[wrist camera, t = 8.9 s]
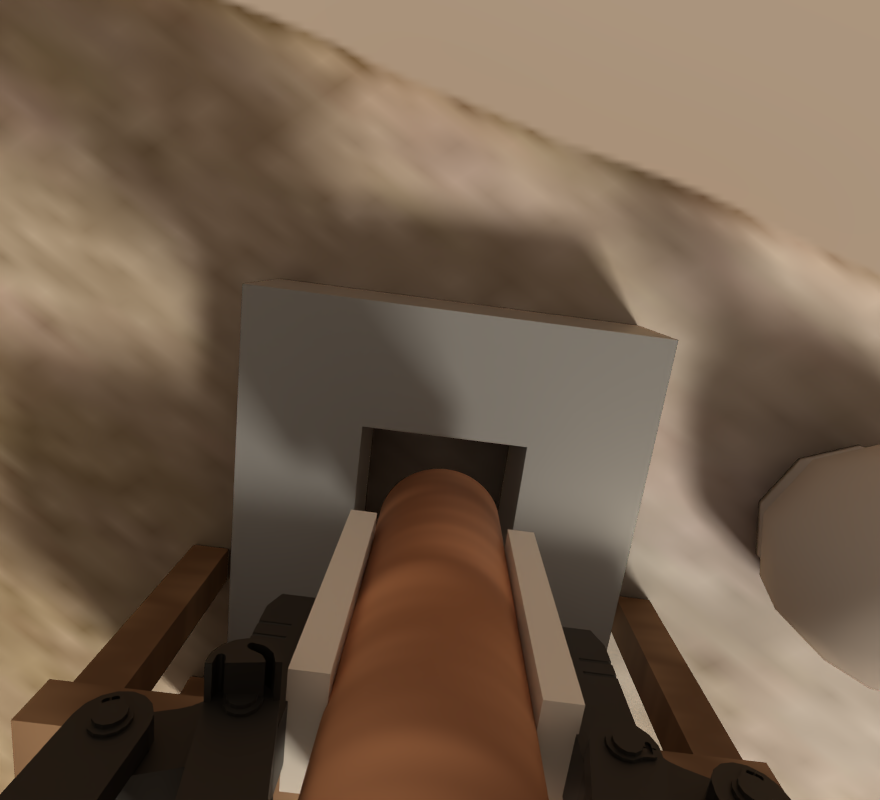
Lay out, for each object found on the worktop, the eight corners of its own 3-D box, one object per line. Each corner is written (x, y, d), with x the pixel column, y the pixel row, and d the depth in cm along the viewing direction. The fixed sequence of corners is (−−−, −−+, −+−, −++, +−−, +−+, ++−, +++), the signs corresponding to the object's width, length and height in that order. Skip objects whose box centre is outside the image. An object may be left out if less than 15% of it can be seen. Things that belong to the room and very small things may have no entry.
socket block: (260, 598, 25) (226, 660, 21) (278, 278, 22) (242, 283, 18) (572, 635, 26) (594, 703, 22) (637, 325, 22) (678, 340, 18)
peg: (373, 571, 19) (254, 1041, 8) (385, 461, 18) (270, 810, 7) (489, 586, 19) (545, 1075, 8) (507, 476, 19) (601, 851, 7)
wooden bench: (179, 702, 27) (27, 955, 17) (182, 538, 25) (11, 720, 15) (622, 753, 27) (718, 1029, 17) (661, 596, 25) (796, 810, 15)
